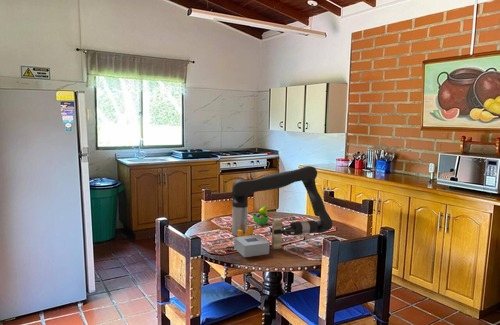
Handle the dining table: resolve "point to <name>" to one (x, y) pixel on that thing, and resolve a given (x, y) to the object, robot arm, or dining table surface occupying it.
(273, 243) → the wooden bar
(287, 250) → the dining table surface
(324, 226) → the robot arm
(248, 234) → the pipe clamp
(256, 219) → the fruit basket
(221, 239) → the dining table surface
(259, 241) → the grey square socket block
